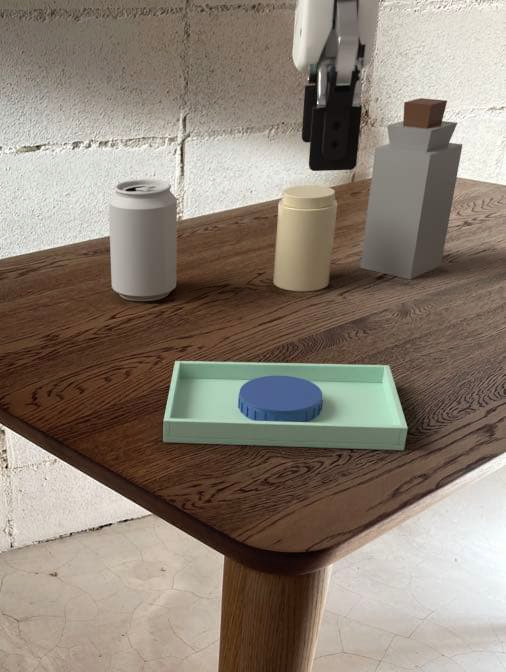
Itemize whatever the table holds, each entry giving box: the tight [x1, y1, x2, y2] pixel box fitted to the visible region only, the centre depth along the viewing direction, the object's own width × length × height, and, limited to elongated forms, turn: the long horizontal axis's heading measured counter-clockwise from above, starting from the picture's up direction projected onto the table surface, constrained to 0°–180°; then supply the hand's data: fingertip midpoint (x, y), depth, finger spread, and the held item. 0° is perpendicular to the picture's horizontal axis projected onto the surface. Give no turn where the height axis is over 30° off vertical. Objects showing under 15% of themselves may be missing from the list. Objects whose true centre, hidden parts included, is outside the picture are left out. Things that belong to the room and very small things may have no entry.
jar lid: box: [238, 376, 323, 422], centre depth 74 cm, size 7×7×1 cm
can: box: [108, 178, 178, 302], centre depth 98 cm, size 8×8×12 cm
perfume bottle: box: [359, 97, 463, 280], centre depth 100 cm, size 7×7×18 cm
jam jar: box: [272, 184, 338, 292], centre depth 99 cm, size 6×6×10 cm
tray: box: [163, 360, 409, 451], centre depth 74 cm, size 19×12×2 cm, turn 81°
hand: (326, 154), depth 65 cm, fingers open, 9 cm apart
